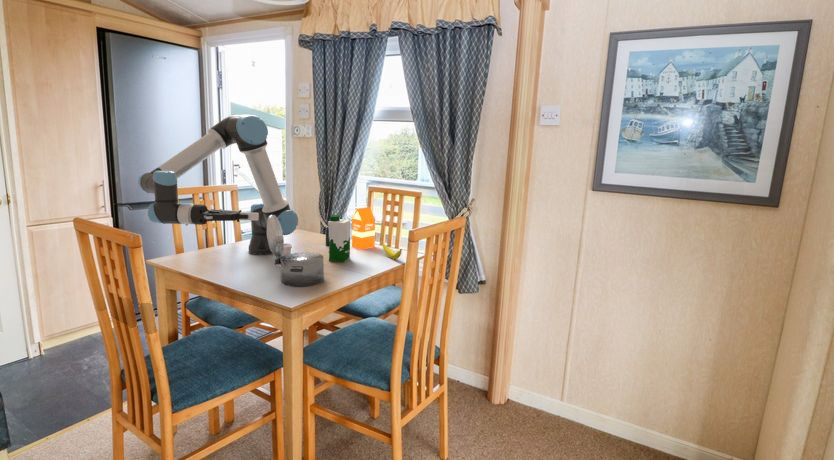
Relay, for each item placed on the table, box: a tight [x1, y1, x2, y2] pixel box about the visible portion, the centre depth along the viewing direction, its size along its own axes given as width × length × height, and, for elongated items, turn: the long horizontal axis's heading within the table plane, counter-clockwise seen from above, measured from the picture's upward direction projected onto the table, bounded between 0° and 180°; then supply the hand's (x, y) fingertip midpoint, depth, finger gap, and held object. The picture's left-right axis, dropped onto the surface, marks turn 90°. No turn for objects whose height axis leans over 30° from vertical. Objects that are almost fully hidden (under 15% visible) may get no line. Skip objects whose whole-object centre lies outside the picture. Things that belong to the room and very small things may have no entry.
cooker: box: [274, 251, 325, 288], centre depth 175 cm, size 18×21×9 cm
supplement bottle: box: [325, 226, 329, 247], centre depth 231 cm, size 7×7×12 cm
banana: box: [381, 242, 403, 260], centre depth 210 cm, size 3×19×6 cm, turn 30°
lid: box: [266, 215, 285, 258], centre depth 172 cm, size 16×16×2 cm
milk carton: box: [327, 214, 351, 263], centre depth 203 cm, size 9×9×20 cm
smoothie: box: [279, 243, 293, 269], centre depth 190 cm, size 6×6×14 cm
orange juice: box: [351, 206, 376, 250], centre depth 228 cm, size 8×9×20 cm
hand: (258, 216), depth 169 cm, fingers closed
